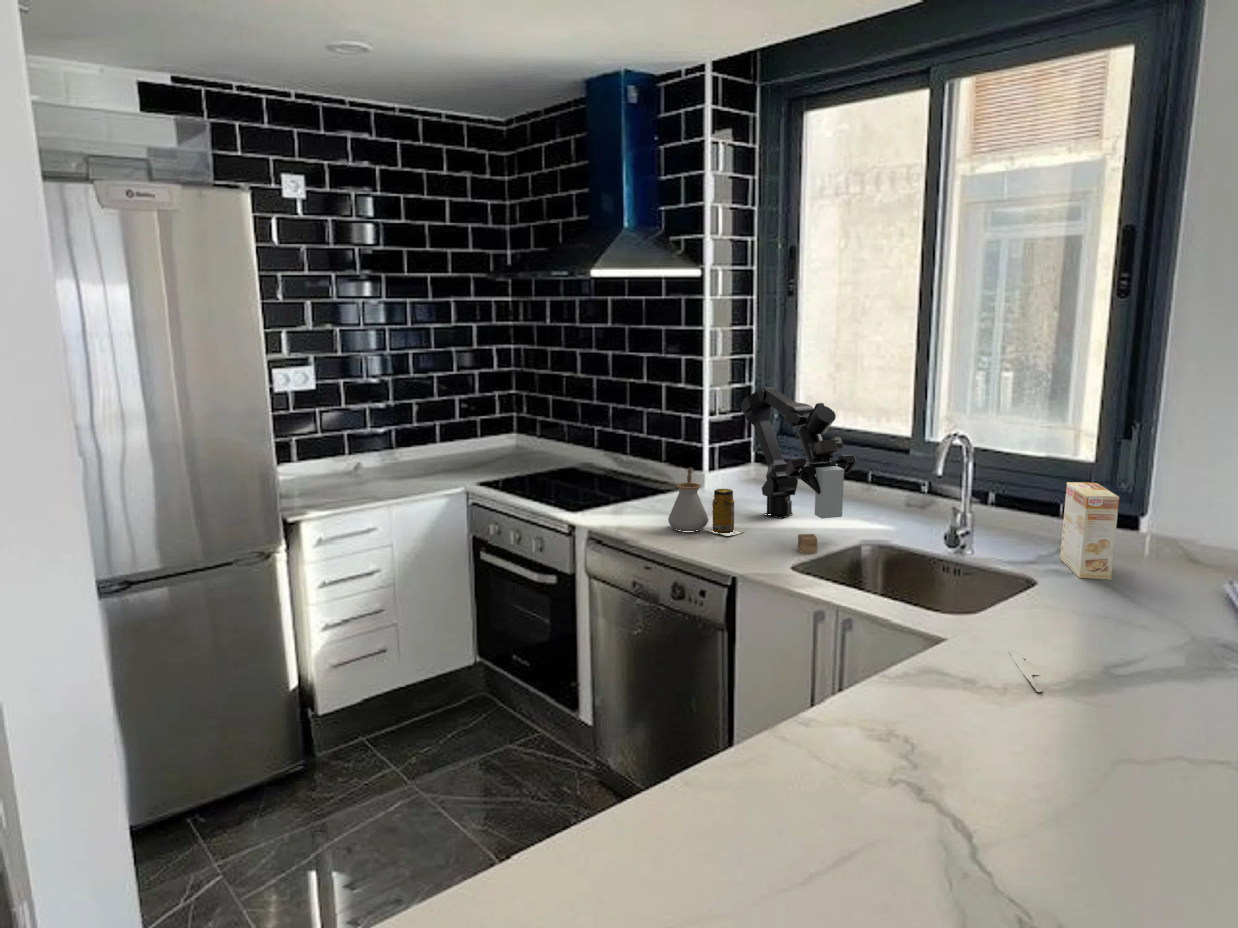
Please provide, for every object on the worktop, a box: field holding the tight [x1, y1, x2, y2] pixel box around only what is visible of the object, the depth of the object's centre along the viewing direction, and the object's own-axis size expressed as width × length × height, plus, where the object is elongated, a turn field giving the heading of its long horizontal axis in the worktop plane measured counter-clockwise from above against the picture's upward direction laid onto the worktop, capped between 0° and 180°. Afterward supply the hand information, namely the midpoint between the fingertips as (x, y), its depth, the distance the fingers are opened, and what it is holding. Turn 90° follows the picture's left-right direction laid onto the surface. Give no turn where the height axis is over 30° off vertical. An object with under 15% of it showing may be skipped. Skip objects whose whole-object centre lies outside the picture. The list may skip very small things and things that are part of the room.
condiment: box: [711, 488, 735, 533], centre depth 236 cm, size 7×8×12 cm
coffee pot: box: [667, 466, 710, 531], centre depth 245 cm, size 21×12×15 cm, turn 173°
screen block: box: [814, 466, 845, 520], centre depth 226 cm, size 4×6×13 cm, turn 104°
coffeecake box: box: [1059, 481, 1120, 581], centre depth 198 cm, size 15×7×20 cm, turn 168°
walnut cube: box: [797, 533, 818, 554], centre depth 219 cm, size 4×4×4 cm
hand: (830, 492), depth 225 cm, fingers closed on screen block, 6 cm apart
